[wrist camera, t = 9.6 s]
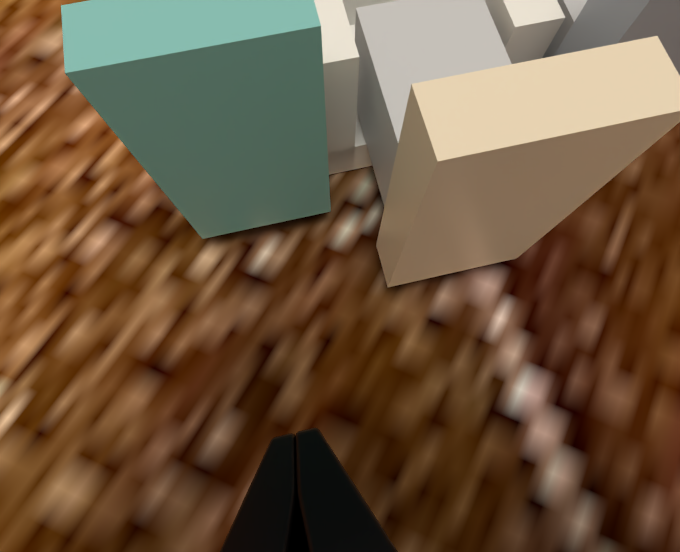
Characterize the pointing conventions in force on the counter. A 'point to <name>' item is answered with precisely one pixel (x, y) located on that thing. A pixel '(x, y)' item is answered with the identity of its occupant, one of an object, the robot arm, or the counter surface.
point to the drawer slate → (617, 25)
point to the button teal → (211, 101)
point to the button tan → (493, 131)
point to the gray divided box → (343, 63)
